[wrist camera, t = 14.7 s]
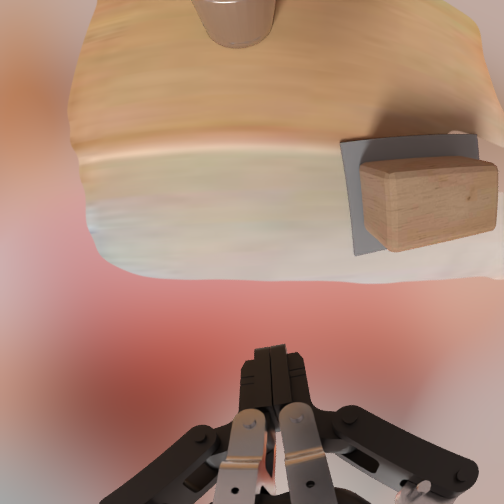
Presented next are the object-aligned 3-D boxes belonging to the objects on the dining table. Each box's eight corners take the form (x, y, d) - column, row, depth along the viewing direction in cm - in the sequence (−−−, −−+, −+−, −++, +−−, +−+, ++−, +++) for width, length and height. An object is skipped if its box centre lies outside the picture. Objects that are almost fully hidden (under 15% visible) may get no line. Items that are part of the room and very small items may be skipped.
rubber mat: (339, 142, 34) (340, 142, 34) (475, 134, 32) (476, 134, 31) (354, 254, 41) (355, 256, 40) (477, 225, 38) (479, 226, 38)
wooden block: (387, 171, 26) (500, 163, 24) (355, 162, 35) (459, 154, 33) (390, 256, 29) (497, 231, 28) (362, 229, 39) (460, 212, 37)
